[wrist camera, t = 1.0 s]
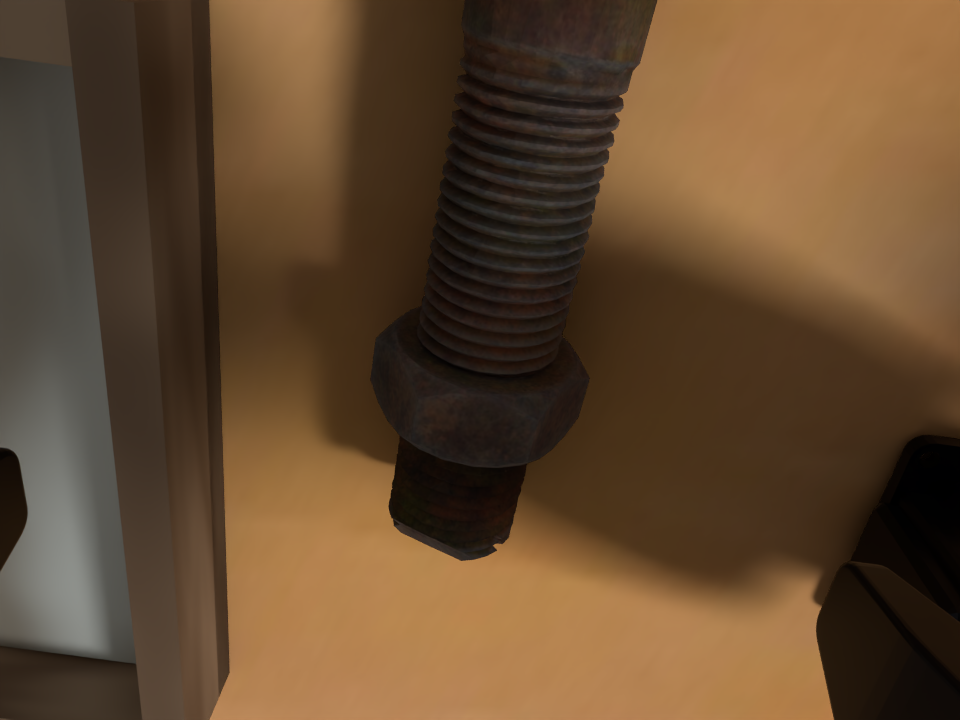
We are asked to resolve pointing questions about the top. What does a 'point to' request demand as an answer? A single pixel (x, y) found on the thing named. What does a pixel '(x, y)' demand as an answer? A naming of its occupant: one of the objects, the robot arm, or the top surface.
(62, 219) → the wooden tray
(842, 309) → the top surface
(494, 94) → the bolt
